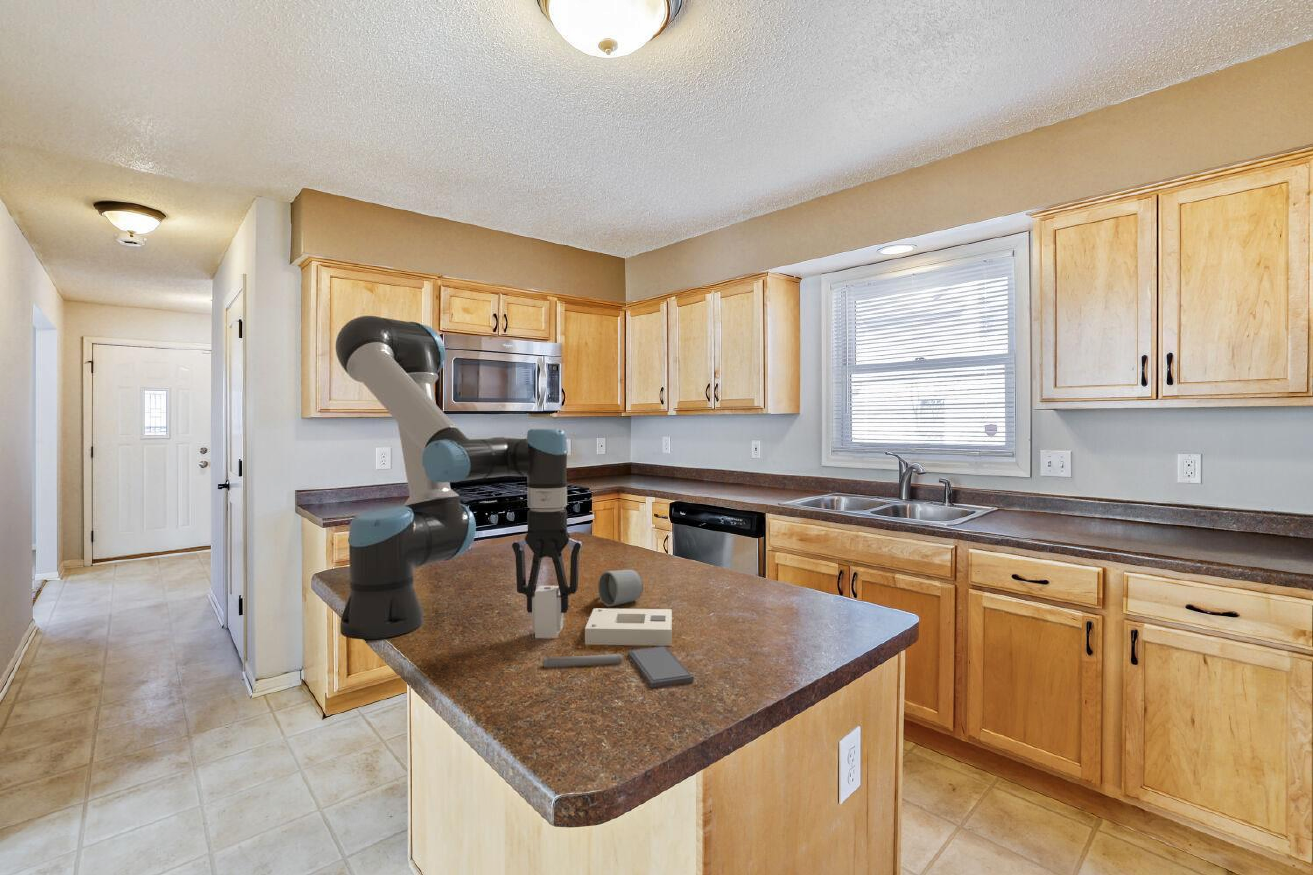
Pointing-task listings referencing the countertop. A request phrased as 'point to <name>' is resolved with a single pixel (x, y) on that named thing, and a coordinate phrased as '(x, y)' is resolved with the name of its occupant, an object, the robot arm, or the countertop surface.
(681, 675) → the phone slab
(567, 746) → the countertop surface
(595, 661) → the grey rod
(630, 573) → the ceramic mug
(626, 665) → the countertop surface
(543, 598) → the charger block
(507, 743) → the countertop surface
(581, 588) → the countertop surface
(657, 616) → the outlet plate
